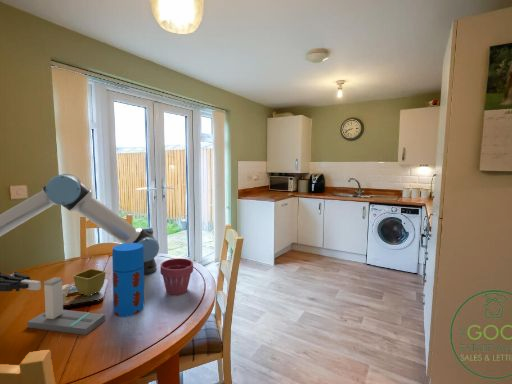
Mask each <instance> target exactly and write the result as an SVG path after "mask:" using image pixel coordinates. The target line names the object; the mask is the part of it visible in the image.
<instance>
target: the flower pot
mask: <svg viewBox="0 0 512 384" xmlns="http://www.w3.org/2000/svg"><path fill="white" fill-rule="evenodd" d="M106 273H107V272H106V271H104V270H101V269H97V268H96V269H95V268H89V269H86V270H83V271H81V272H78V273H76V274H73V282H74V286H75V289H76V291H77V292H78V293H79V294H80V293H81V294H84V295H83V296H85V295H88V296H87V297H90V296H89V295H91V294H93V293H95V292H98V291H99V292H100V291H101V290H102V288H103V286H104V284H105V280H106V279H105V278H106ZM99 292H98V293H99ZM81 294H80V295H81ZM91 296H92V295H91Z"/></svg>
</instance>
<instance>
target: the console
mask: <svg viewBox="0 0 512 384" xmlns="http://www.w3.org/2000/svg"><path fill="white" fill-rule="evenodd" d="M104 321H106V314H104V313H95V312H88V311H87V312H86V311H80V310H79V311H77V310H71V309H70V310H68V309H63V314H61V315H59V316H58V317H56V318H55V319H47V318H46V313H45V311H44V312H42V313H40V314H39V315H37V316H34V318H31V319H30V320H28V321H27V323H26V325H27V328H30V329H36V330H37V329H38V330H47V331H53V332H61V333H68V334H69V333H70V334H77V335H84V336H86V335H88V334H89V333H90V332H91V331H93V330H94V329H95V328H97V327H98V326H99V325H100V324H101V323H103V322H104Z"/></svg>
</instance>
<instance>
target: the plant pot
mask: <svg viewBox="0 0 512 384" xmlns="http://www.w3.org/2000/svg"><path fill="white" fill-rule="evenodd" d="M159 271H160V272H159V273H160V275H161V276H162V277H163V278H162V279H163V283H164V288H165V292H166V294H168V295H169V296H180V295H184V294H185V293H187V291H188V287H189V284H190V279H191V274H192V273H193V272H194V261H192V260H190V259H188V258H179V257H178V258H171V259H170V258H169V259H167V260H165V261H163V262H161V264H160V270H159Z"/></svg>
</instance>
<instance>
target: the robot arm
mask: <svg viewBox="0 0 512 384" xmlns="http://www.w3.org/2000/svg"><path fill="white" fill-rule="evenodd" d="M54 205H55V206H59V205H60V206H62V207H64V208H65V209H67V210H68V211H69V212H77V213H79V214H80V215H82V216H83V217H85V218H86V219H87V220H89V221H90V222H92V223H93V224H95V225H96V226H97V227H98V228H100V229H102V230H104V232H106V233H107V234H109V235H110V236H112V237H113V238H114V239H116V240H117V241H118V242H120V243H121V244H125V243H140V244H142V245H143V249H144V276H145V275H150V274H152V273H154V272H156V271H157V262H156V260H155V258H156V257H157V256H158V254H159V250H160V245H159V242H158V240H157V239H156V238H155V237H154V231H153V230H154V229H153V227H149V226H147V227H135V226H133V225H132V224H131V223H129V222H128V221H127V220H125V219H123V217H121V216H120V215H118V214H117V213H116V212H114V211H113V210H112V209H110V207H108V206H107V205H106V204H104V203H102V202H101V201H100V200H99V199H97V198H96V197H94V196H93V194H92V190H91V189H90V188H88V187H87V186H86V185H85V184H83V183H82V181H81V180H80V178H78V177H77V176H75V175H73V174H70V173H64V174H63V173H62V174H57V175H55V176H53V177H51V178H50V180H48V181H47V183H46V185H45V186H43V187H42V188H41V191H39V192H37V193H35V194H34V195H32V196H31V197H29V198H27V199H25V200H23V201H21V202H20V203H17V204H16V205H15V206H13V207H11V208H8V209H7V210H6V211H4V212H1V214H0V237H2V236H4V235H5V234H7V233H9V232H10V231H12V230H13V229H15V228H17V227H19V226H20V225H22V224H23V223H26V222H27V221H29V220H30V219H32V218H34V217H35V216H37V215H39V214H40V213H42V212H44V211H46V210H48V209H49V208H51V207H52V206H54ZM21 289H24V290H29V291H39V290H42V281H40V280H33V279H32V280H31V276H29V275H26V274H24V273H19V271H14V272H13V273H12V274H8V273H2V272H0V292H12V291H14V290H15V292H20V291H21Z"/></svg>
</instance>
